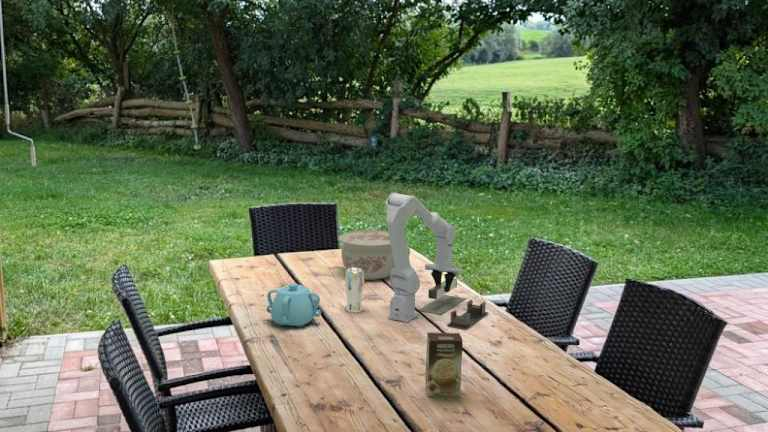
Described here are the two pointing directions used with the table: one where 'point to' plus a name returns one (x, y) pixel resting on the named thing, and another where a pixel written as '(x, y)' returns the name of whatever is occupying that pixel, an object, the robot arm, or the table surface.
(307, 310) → the decorative pot
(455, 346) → the coffee box
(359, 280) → the beer glass
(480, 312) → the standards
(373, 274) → the chamber pot
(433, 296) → the rail
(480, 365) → the table surface
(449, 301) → the pad
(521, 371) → the table surface
